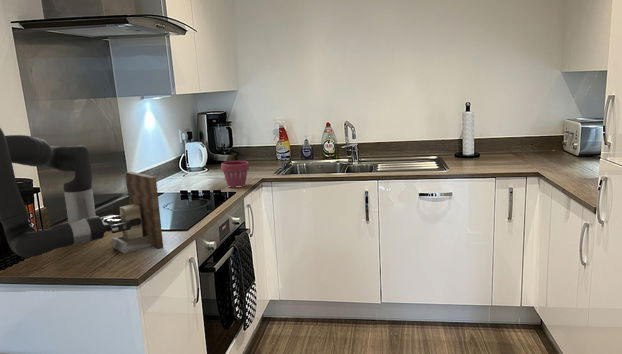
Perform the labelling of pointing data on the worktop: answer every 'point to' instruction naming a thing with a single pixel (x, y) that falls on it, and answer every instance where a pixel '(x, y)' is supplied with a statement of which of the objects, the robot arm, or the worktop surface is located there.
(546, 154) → the worktop surface
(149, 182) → the upright wooden board
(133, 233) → the ridged beige block
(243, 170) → the plant pot
